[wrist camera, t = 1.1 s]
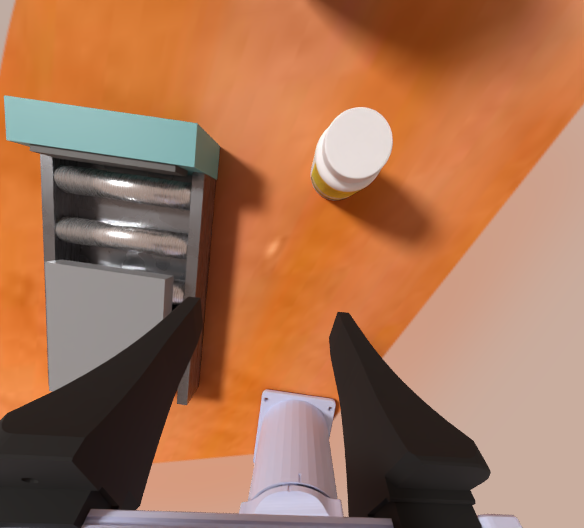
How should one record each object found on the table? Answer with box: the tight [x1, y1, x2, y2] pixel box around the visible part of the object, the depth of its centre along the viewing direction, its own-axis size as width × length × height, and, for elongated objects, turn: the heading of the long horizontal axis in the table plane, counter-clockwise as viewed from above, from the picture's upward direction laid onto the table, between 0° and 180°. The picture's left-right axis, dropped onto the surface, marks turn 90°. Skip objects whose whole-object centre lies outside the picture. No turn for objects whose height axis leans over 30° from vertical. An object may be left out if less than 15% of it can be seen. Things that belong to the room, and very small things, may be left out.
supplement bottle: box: [311, 107, 393, 200], centre depth 18 cm, size 5×5×8 cm
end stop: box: [4, 96, 220, 180], centre depth 20 cm, size 4×14×5 cm, turn 82°
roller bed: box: [40, 154, 216, 405], centre depth 23 cm, size 22×14×3 cm, turn 172°
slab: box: [45, 259, 174, 391], centre depth 21 cm, size 12×10×1 cm
